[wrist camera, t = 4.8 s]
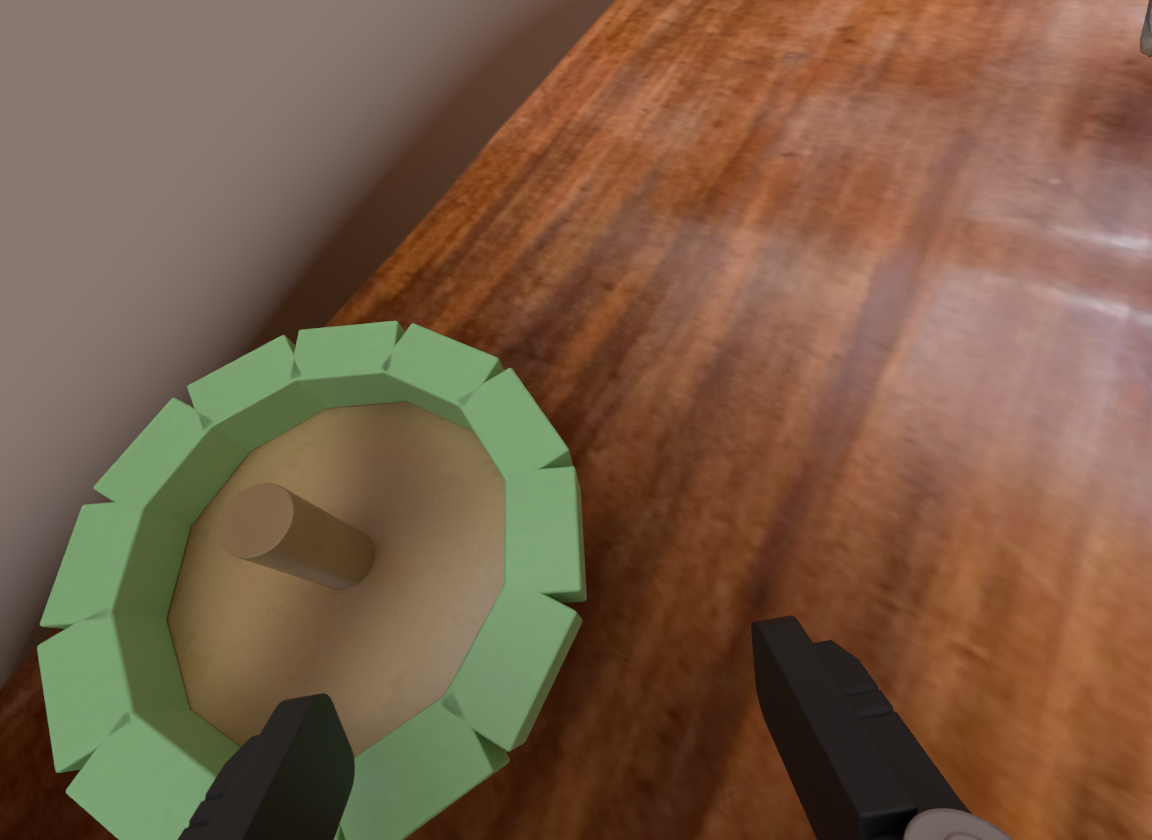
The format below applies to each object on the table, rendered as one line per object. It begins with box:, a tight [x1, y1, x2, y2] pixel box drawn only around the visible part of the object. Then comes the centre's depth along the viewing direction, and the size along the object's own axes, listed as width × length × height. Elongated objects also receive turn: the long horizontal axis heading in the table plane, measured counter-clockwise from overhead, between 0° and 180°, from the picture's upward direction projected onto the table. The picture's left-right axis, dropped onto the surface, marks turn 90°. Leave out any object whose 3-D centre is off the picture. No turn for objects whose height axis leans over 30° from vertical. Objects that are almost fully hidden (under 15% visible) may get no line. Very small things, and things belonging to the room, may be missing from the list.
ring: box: [37, 321, 587, 840], centre depth 16 cm, size 15×15×2 cm
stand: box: [166, 401, 505, 757], centre depth 17 cm, size 12×12×10 cm
